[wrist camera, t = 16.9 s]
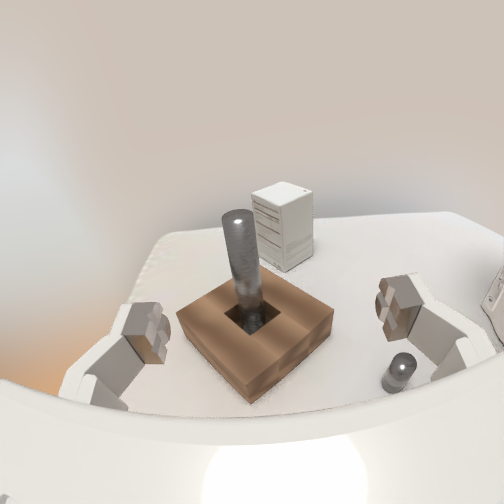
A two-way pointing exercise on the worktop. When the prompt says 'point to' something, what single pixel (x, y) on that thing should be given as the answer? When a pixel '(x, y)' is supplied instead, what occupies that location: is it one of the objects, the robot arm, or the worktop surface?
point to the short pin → (399, 372)
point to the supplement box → (283, 224)
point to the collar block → (256, 333)
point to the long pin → (245, 267)
